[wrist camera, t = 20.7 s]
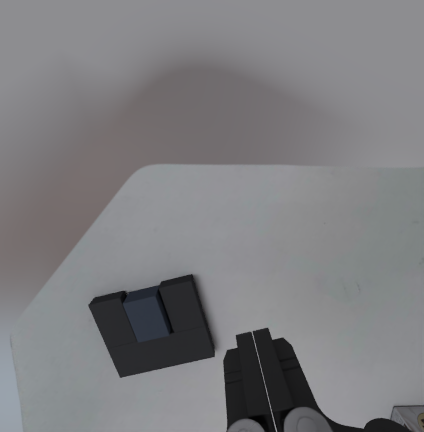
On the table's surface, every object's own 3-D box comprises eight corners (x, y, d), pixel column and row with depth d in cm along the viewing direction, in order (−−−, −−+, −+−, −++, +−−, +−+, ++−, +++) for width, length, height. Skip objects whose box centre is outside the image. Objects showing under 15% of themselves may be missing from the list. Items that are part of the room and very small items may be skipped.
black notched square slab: (94, 297, 38) (88, 305, 36) (192, 274, 38) (191, 280, 36) (124, 367, 42) (120, 377, 40) (214, 347, 41) (214, 356, 39)
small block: (129, 292, 38) (122, 303, 35) (159, 285, 38) (155, 295, 35) (143, 329, 40) (138, 343, 37) (172, 322, 40) (169, 335, 37)
